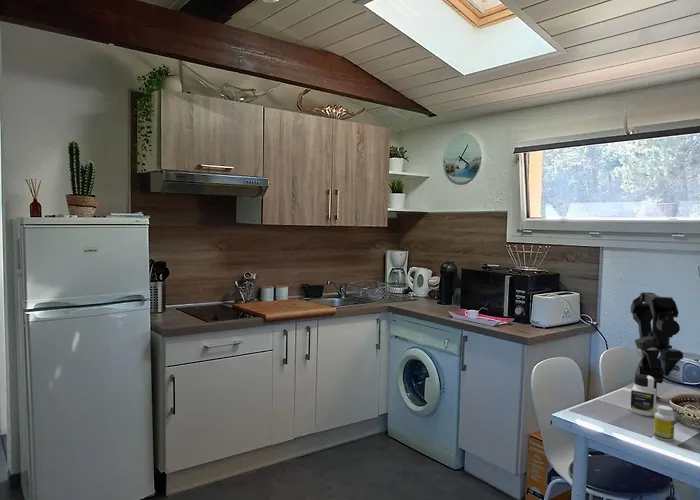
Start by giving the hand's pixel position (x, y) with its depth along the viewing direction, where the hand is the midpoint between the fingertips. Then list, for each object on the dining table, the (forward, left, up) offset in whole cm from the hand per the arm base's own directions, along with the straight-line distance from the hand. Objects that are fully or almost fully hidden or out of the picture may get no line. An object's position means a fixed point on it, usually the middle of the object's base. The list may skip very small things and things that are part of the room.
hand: (658, 372), depth 188 cm
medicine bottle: (+6, -9, -12) cm, 16 cm away
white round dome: (+6, -8, -13) cm, 17 cm away
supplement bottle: (+30, -15, -13) cm, 36 cm away
